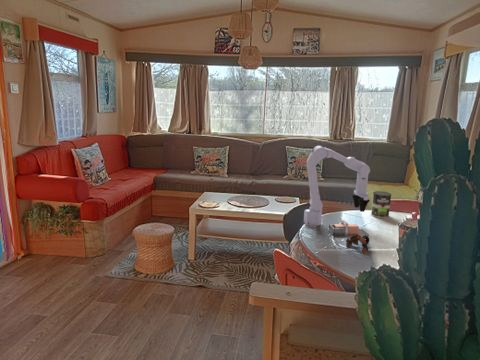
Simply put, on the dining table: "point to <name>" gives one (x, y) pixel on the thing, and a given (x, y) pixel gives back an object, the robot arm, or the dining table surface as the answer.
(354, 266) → the dining table surface
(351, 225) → the copper rectangular block
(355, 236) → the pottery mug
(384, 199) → the coffee can
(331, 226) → the dispenser
